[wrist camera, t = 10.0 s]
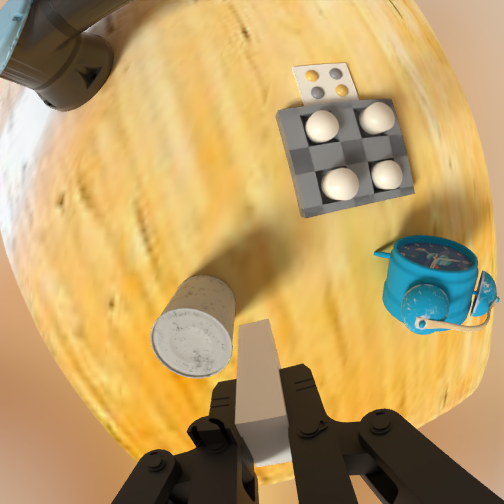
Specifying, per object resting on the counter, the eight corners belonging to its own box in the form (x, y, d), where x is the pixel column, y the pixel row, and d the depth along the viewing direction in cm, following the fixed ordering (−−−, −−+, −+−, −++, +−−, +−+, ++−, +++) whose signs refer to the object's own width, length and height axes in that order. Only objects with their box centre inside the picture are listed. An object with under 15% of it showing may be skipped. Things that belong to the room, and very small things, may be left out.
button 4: (365, 164, 35) (376, 162, 32) (387, 160, 35) (399, 158, 32) (371, 191, 36) (382, 191, 33) (393, 186, 36) (405, 186, 33)
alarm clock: (440, 230, 39) (524, 254, 20) (436, 285, 41) (510, 329, 22) (360, 237, 39) (442, 273, 20) (359, 300, 41) (425, 367, 22)
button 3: (355, 109, 32) (365, 102, 29) (378, 108, 32) (389, 101, 29) (363, 136, 33) (374, 131, 29) (386, 133, 33) (398, 129, 29)
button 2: (317, 173, 34) (325, 170, 31) (345, 167, 34) (354, 165, 30) (324, 202, 35) (332, 203, 31) (351, 196, 35) (361, 196, 31)
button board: (275, 116, 35) (278, 110, 32) (382, 103, 35) (391, 98, 32) (301, 216, 38) (305, 218, 35) (404, 193, 38) (414, 193, 35)
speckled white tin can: (171, 323, 41) (148, 366, 29) (179, 267, 40) (154, 298, 28) (228, 337, 42) (223, 385, 30) (242, 283, 40) (241, 319, 28)
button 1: (300, 119, 34) (305, 112, 31) (326, 115, 34) (334, 108, 30) (307, 146, 35) (313, 141, 31) (334, 141, 35) (342, 137, 31)
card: (291, 68, 34) (292, 66, 33) (344, 64, 33) (346, 62, 32) (304, 108, 35) (305, 106, 34) (358, 102, 35) (360, 100, 34)
